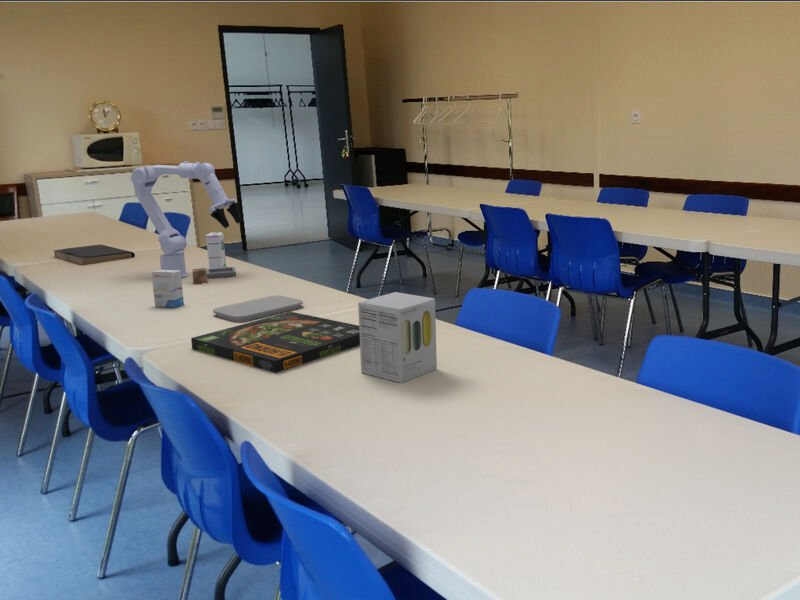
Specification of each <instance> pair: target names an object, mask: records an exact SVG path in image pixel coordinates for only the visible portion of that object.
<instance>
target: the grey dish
mask: <svg viewBox="0 0 800 600" xmlns="http://www.w3.org/2000/svg"><path fill="white" fill-rule="evenodd" d="M206 274H207V278H211V279H220V278H219V277H224V278H234V277H233V276H236V277H237V272H236V267H235V266H231V267H229V266H228V267H227V266H226V267H225V268H214V269H209V268H206Z"/></svg>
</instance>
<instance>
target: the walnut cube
mask: <svg viewBox="0 0 800 600" xmlns="http://www.w3.org/2000/svg"><path fill="white" fill-rule="evenodd" d="M206 269H207V268H206V267H204V268H203V267H202V268H192V270H191V271H192V283H193V285H194V284H195V285H203V284H202V283H207V284H208V279H207V272H206Z"/></svg>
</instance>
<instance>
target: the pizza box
mask: <svg viewBox="0 0 800 600" xmlns="http://www.w3.org/2000/svg"><path fill="white" fill-rule="evenodd" d="M190 340H191V349H192V350H194V351H199V352H201V353H202V352H203V353H206V354H209V355H212V356H215V357H216V356H217V357H219V358H223V359H227V360H230V361H234V362H237V363H241V364H244V365H247V366H251V367H254V368H258V369H261V370H264V371H268V372H271V373H275V374H277V373H281V372H284V371H286V370H289V369H293V368H296V367H299V366H301V365H305V364H307V363H310V362H313V361H317V360H319V359H322V358H326V357H328V356H332V355H335V354H337V353H340V352H344V351H346V350H349V349H354V348H356V347H358V346H359V347H360V332H359V324H358V325H357V324H353V323H348V322H344V321H338V320H334V319H329V318H325V317H320V316H314V315H313V316H312V315H309V314H304V313H299V312H293V311H286V312H282V313H279V314H275V315H271V316H267V317H266V318H262V319H261V318H260V319H258V320H257V319H256V320H255V321H253V320H252V321H250V322H246V323H243V324H239V325H235V326H232V327H227V328H225V329H220V330H216V331H214V332H209V333H205V334H202V335H198V336H193V337H191V338H190Z"/></svg>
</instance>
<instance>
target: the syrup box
mask: <svg viewBox="0 0 800 600" xmlns="http://www.w3.org/2000/svg"><path fill="white" fill-rule="evenodd" d="M205 237H206V238H205V240H206V248H207V256H208V257H207V258H208V267H209V268H208V269H214V268H227V261H226V260H227V259H226V249H225V241H224V240H225V239H224V232H220V231H219V232H217V231H215V232H214V231H213V232H209V233H208V234H206V235H205Z"/></svg>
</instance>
